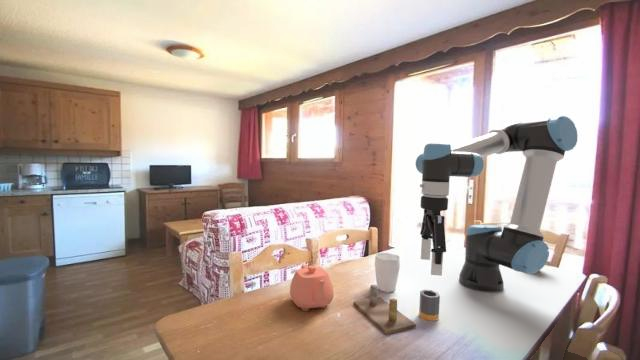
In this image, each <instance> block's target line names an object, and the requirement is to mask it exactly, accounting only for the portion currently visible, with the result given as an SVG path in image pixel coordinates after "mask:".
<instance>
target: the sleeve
mask: <svg viewBox="0 0 640 360" xmlns="http://www.w3.org/2000/svg"><path fill="white" fill-rule="evenodd" d="M440 299H441V296H440V294H439V292H438V291H434V290H432V289H422V290H420V291H419V312H418V314H419V317H420V318H421V319H424V320H426V321H431V322H432V321H434V322H435V321H437V320H439V317H440V316H439V315H440Z"/></svg>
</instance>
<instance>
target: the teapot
mask: <svg viewBox="0 0 640 360" xmlns="http://www.w3.org/2000/svg"><path fill="white" fill-rule="evenodd" d="M289 294H290V297H291V300H292V301H293V302H294V304H295V305H296V306H297V307H298V308H301V311H304V312H307V311H309V310H310V309H315V308H317V309H318V308H321V309H325V308H327V307H328V305H329V304H331V302H332V301H333V299H334V288H333V283H332V281H331V277H330V275H329V273H328V272H327V271H326V270H325V269H324V268H323V267H319V266H316V265H308V266H307V265H306V264H302V265H301V267H300V268H299V269H296V271H295V272H294V273H293V277H292V279H291V283H290V286H289Z"/></svg>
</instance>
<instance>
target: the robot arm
mask: <svg viewBox="0 0 640 360" xmlns="http://www.w3.org/2000/svg"><path fill="white" fill-rule="evenodd" d="M577 142H578V130H577V127H576V124H575V123H574V121H573V120H572V119H571V118H569V116H566V115H557V116H556V115H555V116H554V115H552V116H551V115H550V116H546V117H540V118H539V117H538V118H531V119H521V120H517V121H514V122H511V123H508V124H505V125H503V126H501V127H498V128H497V127H496V128H495V129H492V130H490V131H489V132H488V133H487V134H485V135H482V136H479V137H475V138H472V139H469V140H466V141H464V142H463V141H462V142H460V143H458V144H454V145H451V144H450V143H444V142H440V143H439V142H436V143H435V142H434V143H427V144H426V145H424V148H423V153H421V154H419V155H418V156H417V157H416V159H415V168H416V170H417V171H418V172H419V173H420V174H421V175H422V176H421V177H422V180H421V184H420V185H419V187H420V188H421V194H422V196H420V208H421V209H422V210H423V217H422V221H421V228H420V229H421V230H420V233H419V234H420V235H421V246H420V248H421V249H420V260H423V261H424V260H425V261H430V260H431V266H430V268H431V269H430V274H431V276H442V274H443V261H444V259H443V258H444V253H446V252H447V245H446V244H447V243H446V232H445V231H446V229H445V228H446V227H445V220H446V219H445V215H441V212H443V211H447V210H448V206H449V198H448V196H449V195H450V178H451V177H457V178H459V177H462V178H464V177H465V178H471V177H473V178H474V177H477V176H479V175H480V174H481V173H482V172H483V170H484V166H485V165H484V164H485V161H484V159H483V158H485V157H487V156H490V155H493V154H496V155H501V154H504V153H511V152H522V155H523V156H524V157H525V163H524V166H523V171H522V175H521V178H520V183H519V186H518V191H517V194H516V198H515V203H514V206H513V208H512V209H513V210H512V215H511V218H510V222H509V223H508V224H506V225H504V226H503V228H502V226H500V225H497V224H496V225H495V224H494V225H493V224H473V225H472V224H471V225H469V226H468V227H467V229H466V235H465V253H464V255H465V258H464V259H465V260H464V264H463V265H462V268H461V271H460V273H459V275H458V276H459V277H458V282H459V283H460V284H462V285H463V286H465V287H468V288H469V289H472V290H476V291H480V292H487V293H498V292H502V291H503V290H504V286H505V285H504V279H503V275H502V272H501V270H500V265H501V266H503V267H506V268H508V269H511V270H513V271H515V272H519V273H522V274H526V275H533V274H536V273H538V272H540V271H541V270H542V269H543V268H544V267H545V265H546V264H547V262H548V259H549V256H550V250H549V248H550V247H549V246H548V244H547V242H545V241H544V238H545V236H544V235H543V233H542V232H541V226H542V222H543V220H544V216H545V215H544V214H545V210H546V206H547V202H548V198H549V194H550V191H551V186H552V183H553V182H552V181H553V179H554V174H555V170H556V167H557V162H559V161H561V160H563V159H564V157H565V153H566V152H569V151H571V150H573V149H574V148H575V147H576V145H577ZM431 245H432V246H433V247H432V248H431Z"/></svg>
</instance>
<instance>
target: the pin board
mask: <svg viewBox="0 0 640 360" xmlns="http://www.w3.org/2000/svg"><path fill="white" fill-rule="evenodd" d="M369 289H370V291H369V292H370V294H369V298H366V299H360V300H354V301H352V302H353V303H352V304H353V307H355V308H356V309H357V310H358V311H359V312H360V313H362V314H363V315H364V316H365V317H366V318H367V319H368V320H369V321H370V322H371V323H373V324H374V326H376V327H377V328H378V329H379V330H380V331H381V332H382V333H384V334H385V335H391V334H395V333H399V332H403V331H406V330H407V331H408V330H412V329H416V328H417V323H415V322H414V321H413V320H412V319H410V318H408V317H407V316H406V315H404V314H403V313H402V312H400V311H399V310H398V299H397V298H394V297H391V298H389V301H388V302H387V301H386V300H385V299H384V298H382V297H380V296H378V286H377V284H371V285H370V287H369Z"/></svg>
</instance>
